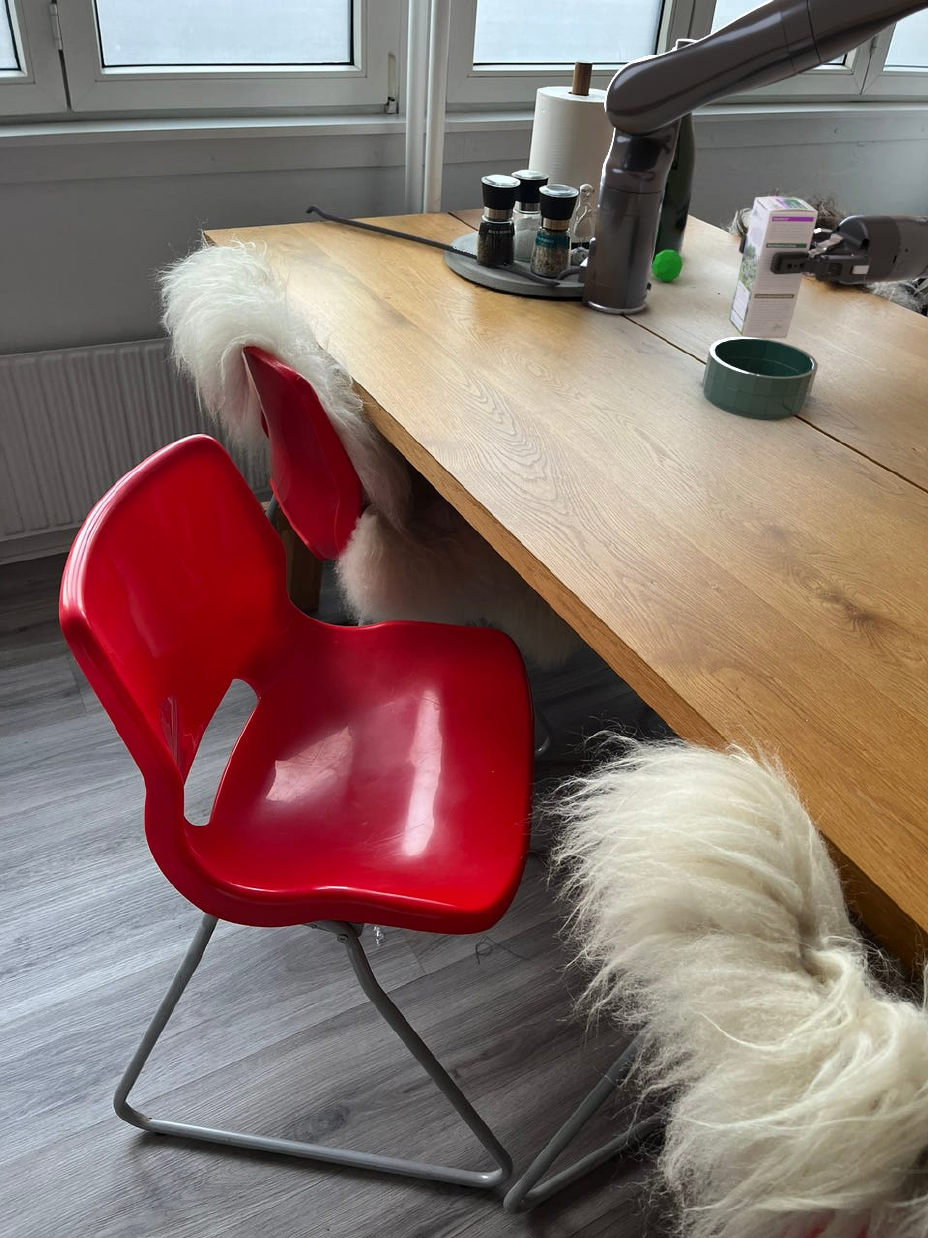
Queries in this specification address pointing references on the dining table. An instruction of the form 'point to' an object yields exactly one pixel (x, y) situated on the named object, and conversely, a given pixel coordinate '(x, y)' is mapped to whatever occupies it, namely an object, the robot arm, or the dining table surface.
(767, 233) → the syrup box
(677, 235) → the beer bottle
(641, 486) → the dining table surface
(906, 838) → the dining table surface
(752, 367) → the crock
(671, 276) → the polyhedron
